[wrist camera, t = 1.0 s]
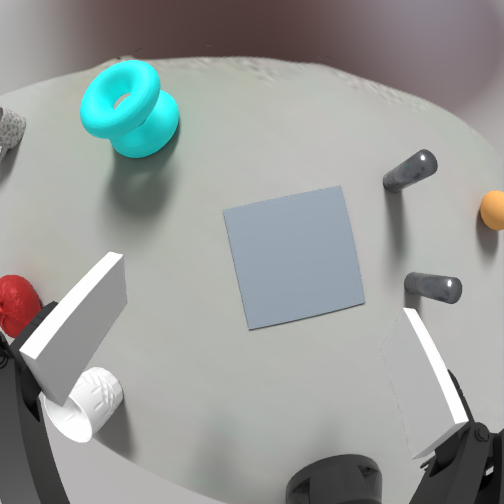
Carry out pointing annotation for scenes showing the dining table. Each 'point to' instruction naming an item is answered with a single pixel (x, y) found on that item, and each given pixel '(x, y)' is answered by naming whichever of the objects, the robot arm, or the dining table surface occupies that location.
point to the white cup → (86, 405)
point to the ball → (493, 210)
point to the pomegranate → (17, 304)
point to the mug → (10, 130)
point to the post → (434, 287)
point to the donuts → (130, 109)
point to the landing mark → (294, 257)
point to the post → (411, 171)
